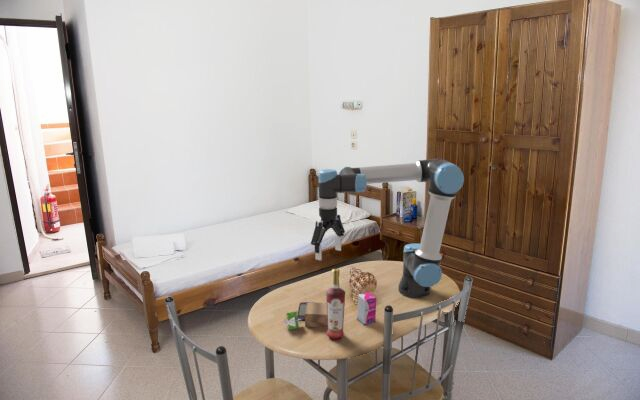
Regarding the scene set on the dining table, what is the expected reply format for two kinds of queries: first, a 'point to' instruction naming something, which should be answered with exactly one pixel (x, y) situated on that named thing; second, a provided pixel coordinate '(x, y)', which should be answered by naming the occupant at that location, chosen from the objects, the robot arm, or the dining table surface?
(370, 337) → the dining table surface
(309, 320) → the walnut pedestal block
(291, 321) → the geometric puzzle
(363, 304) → the supplement box
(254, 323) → the dining table surface
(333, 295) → the liquor
